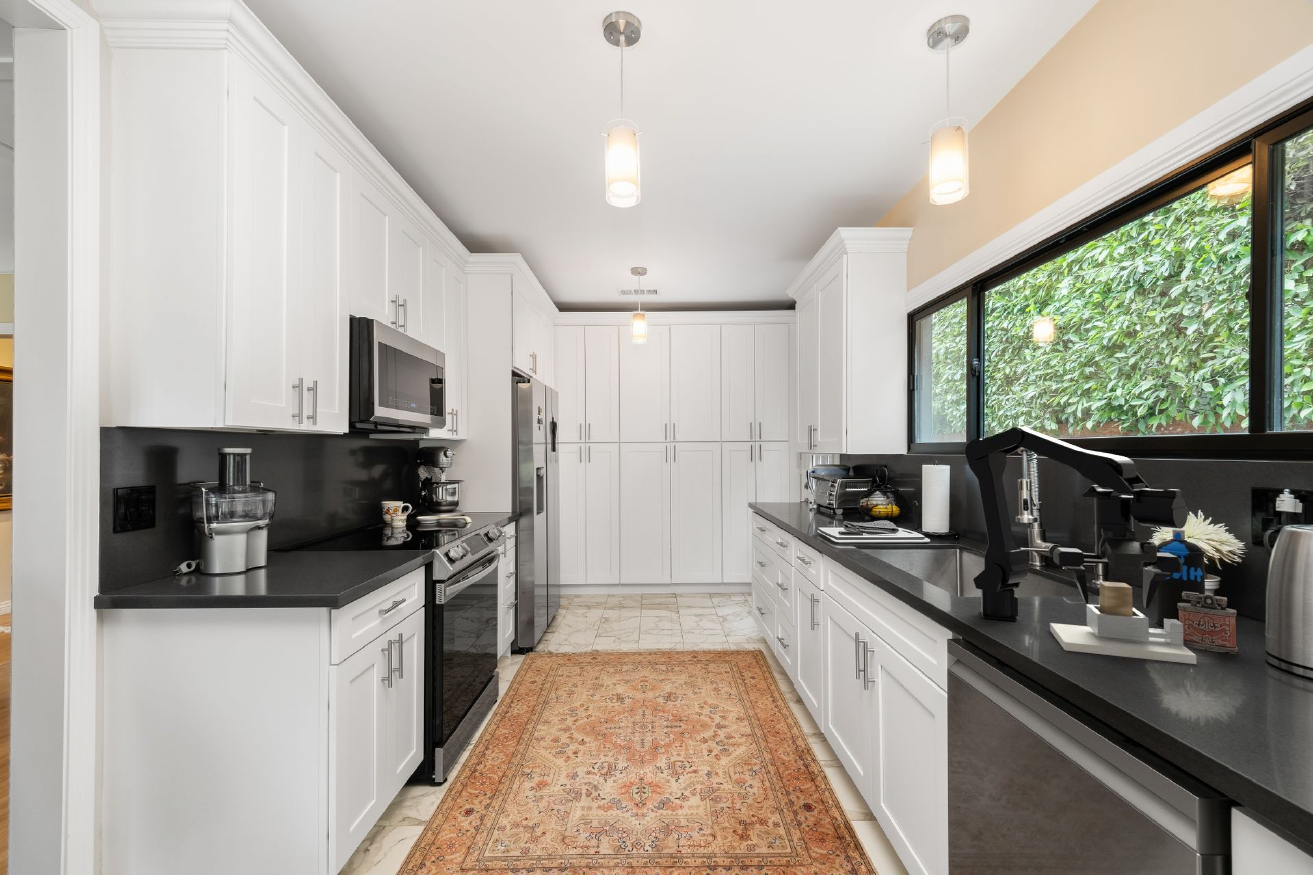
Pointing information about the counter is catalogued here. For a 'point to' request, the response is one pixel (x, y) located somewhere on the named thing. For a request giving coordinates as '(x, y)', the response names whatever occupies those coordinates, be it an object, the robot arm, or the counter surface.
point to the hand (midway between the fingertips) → (1115, 605)
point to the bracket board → (1118, 645)
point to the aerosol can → (1180, 576)
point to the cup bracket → (1132, 626)
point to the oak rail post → (1115, 598)
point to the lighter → (1208, 623)
